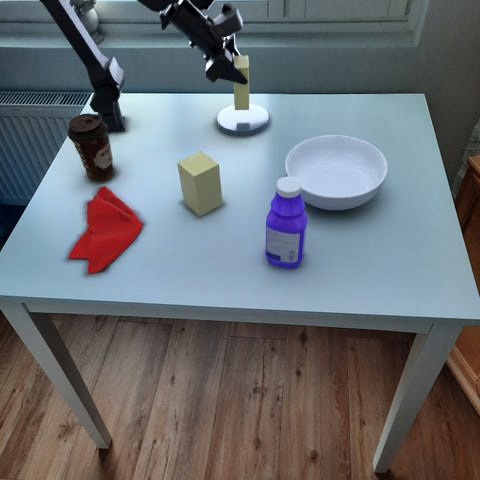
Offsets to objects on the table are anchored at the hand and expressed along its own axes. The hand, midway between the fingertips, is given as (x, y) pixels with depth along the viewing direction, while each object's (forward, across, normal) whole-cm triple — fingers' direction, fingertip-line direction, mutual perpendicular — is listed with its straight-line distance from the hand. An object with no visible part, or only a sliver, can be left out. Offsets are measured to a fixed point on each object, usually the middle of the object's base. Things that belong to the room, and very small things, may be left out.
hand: (246, 76), depth 110 cm
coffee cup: (-15, -20, +32) cm, 41 cm away
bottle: (+13, -48, +3) cm, 50 cm away
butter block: (+1, -31, +15) cm, 35 cm away
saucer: (+7, 0, +9) cm, 12 cm away
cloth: (-12, -38, +28) cm, 49 cm away
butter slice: (+4, 0, +6) cm, 7 cm away
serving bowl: (+21, -28, -5) cm, 36 cm away
